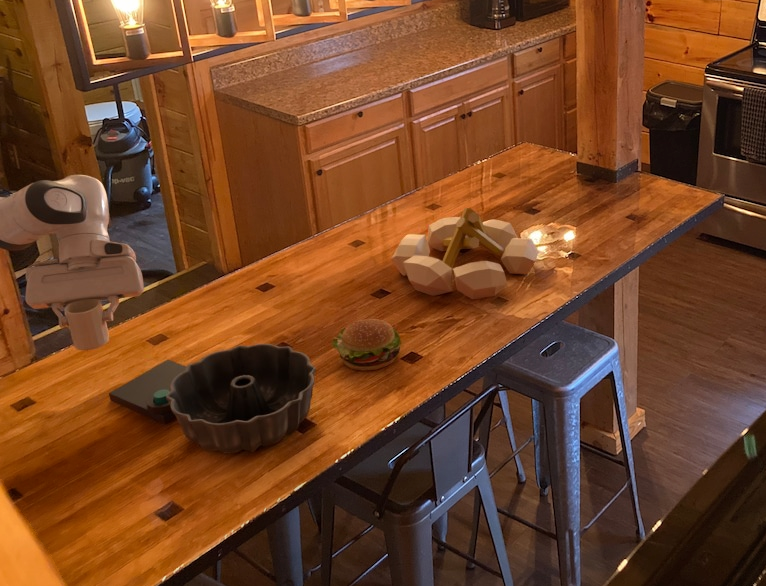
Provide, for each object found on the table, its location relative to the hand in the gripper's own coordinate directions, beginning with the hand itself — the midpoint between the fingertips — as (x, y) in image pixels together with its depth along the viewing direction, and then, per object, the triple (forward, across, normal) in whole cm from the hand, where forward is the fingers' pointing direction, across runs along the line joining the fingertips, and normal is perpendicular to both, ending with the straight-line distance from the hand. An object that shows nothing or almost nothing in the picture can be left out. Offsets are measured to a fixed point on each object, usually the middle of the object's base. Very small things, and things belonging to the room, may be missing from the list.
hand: (86, 323), depth 181 cm
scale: (+13, +11, +12) cm, 21 cm away
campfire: (-13, +78, +40) cm, 88 cm away
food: (+12, +51, +14) cm, 54 cm away
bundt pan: (+24, +28, +2) cm, 37 cm away
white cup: (+3, 0, +4) cm, 5 cm away
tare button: (+16, +12, +5) cm, 20 cm away
